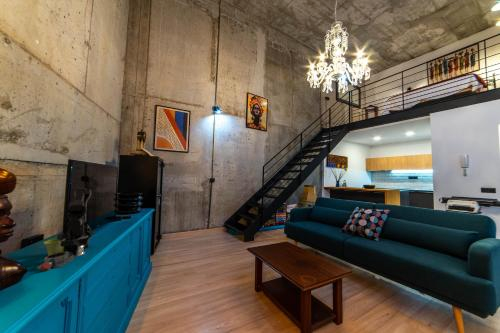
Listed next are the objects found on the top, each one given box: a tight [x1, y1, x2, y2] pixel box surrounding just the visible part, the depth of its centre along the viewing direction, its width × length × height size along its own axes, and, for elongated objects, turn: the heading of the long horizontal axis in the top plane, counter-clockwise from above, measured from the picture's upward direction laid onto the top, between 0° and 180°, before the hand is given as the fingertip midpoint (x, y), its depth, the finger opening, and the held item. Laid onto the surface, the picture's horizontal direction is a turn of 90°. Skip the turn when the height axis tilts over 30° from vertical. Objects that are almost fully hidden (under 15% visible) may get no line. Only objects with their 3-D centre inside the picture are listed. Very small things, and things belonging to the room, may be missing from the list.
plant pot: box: [43, 238, 66, 256], centre depth 115 cm, size 9×9×9 cm
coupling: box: [72, 244, 86, 258], centre depth 114 cm, size 5×5×5 cm
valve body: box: [37, 251, 76, 272], centre depth 103 cm, size 14×10×5 cm
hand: (78, 253), depth 114 cm, fingers open, 6 cm apart
